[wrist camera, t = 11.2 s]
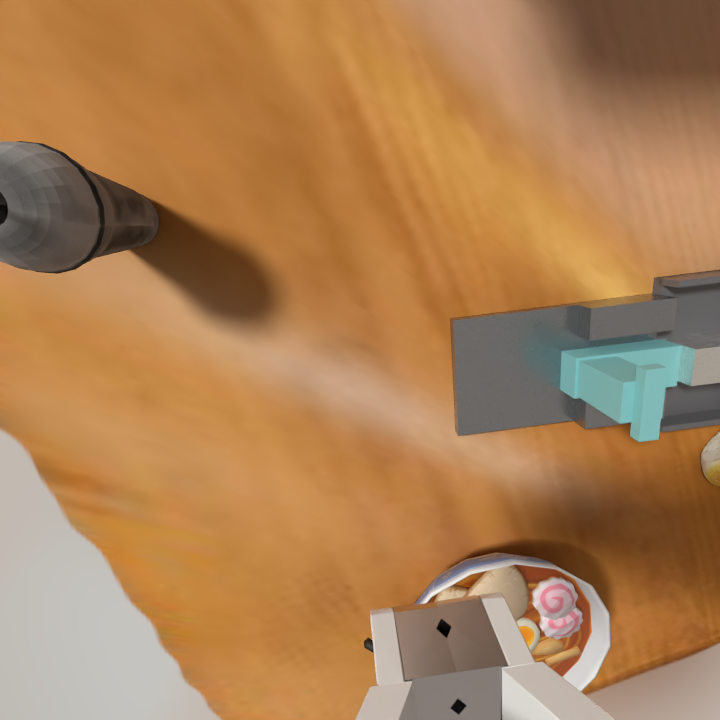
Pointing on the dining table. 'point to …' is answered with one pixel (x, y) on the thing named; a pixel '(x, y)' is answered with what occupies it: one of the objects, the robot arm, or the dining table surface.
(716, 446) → the bread roll
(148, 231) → the beverage cup
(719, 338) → the chip
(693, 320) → the tray
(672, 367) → the rake tool
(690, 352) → the beige cube
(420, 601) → the ramen bowl
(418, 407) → the dining table surface
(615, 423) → the slot board
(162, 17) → the dining table surface
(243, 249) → the dining table surface
